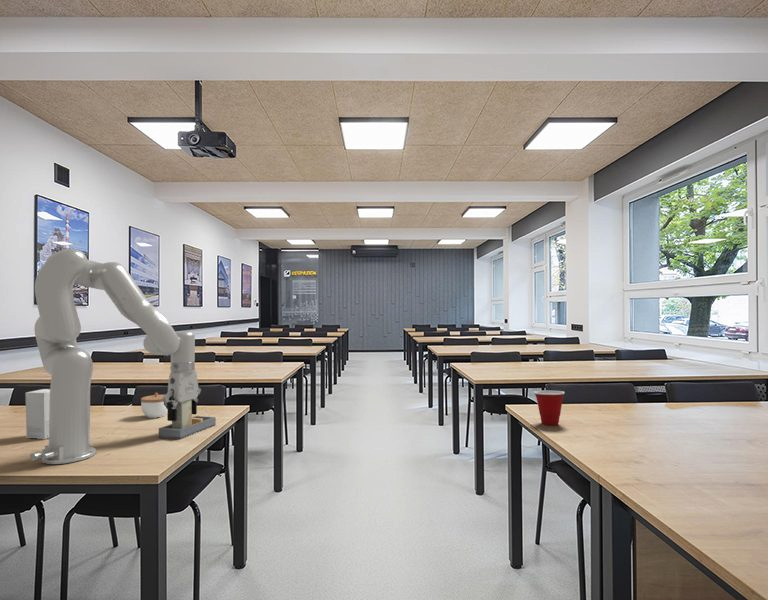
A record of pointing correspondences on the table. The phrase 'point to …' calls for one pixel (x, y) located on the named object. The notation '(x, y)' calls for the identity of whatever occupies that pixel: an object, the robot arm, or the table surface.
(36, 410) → the skincare box
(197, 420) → the block
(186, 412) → the box
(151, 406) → the lidded jar
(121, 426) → the table surface
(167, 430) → the gray tray
